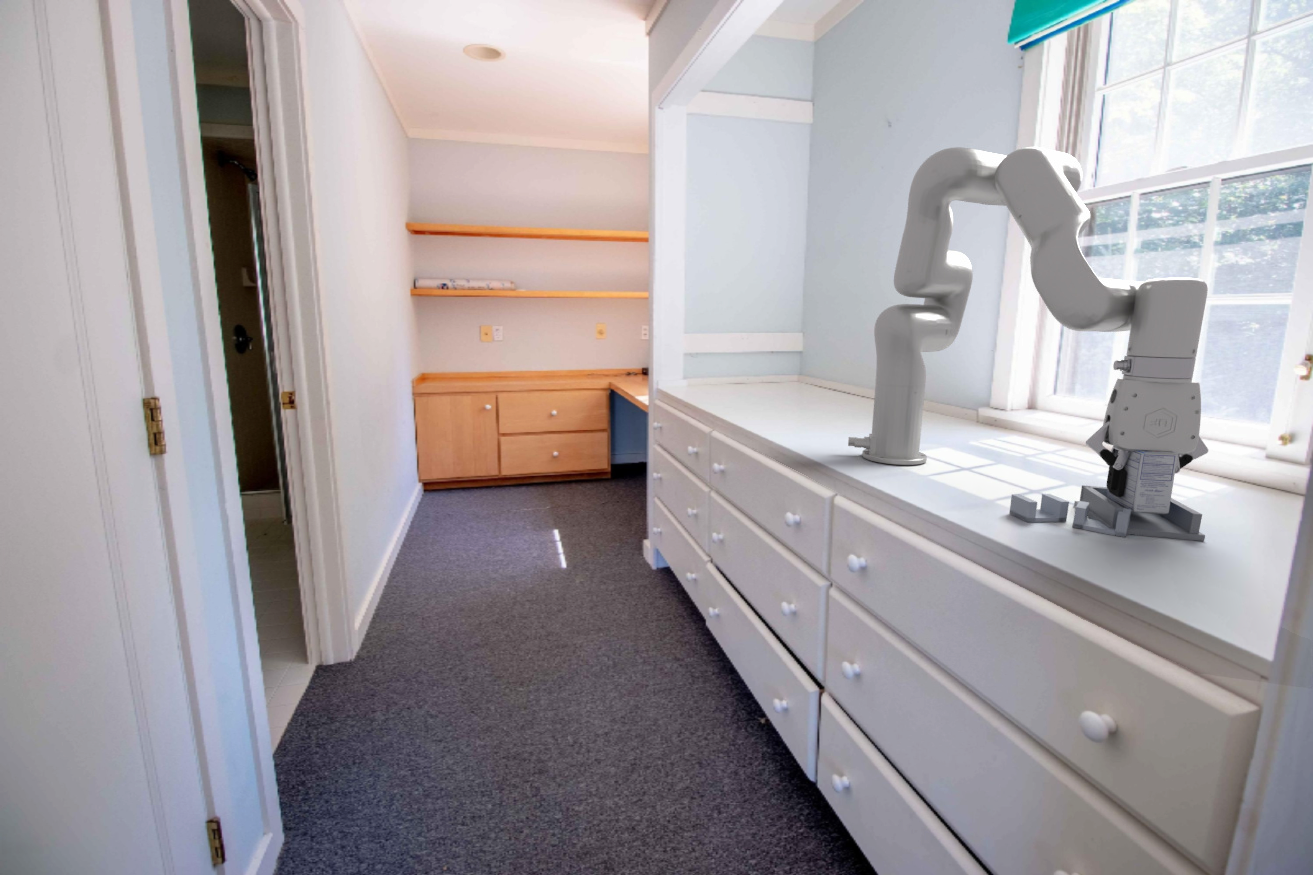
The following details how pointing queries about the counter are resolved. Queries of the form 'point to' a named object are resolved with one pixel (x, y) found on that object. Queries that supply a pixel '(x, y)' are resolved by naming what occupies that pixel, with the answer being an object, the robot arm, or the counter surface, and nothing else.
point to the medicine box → (1148, 481)
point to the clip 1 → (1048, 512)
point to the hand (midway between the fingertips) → (1137, 494)
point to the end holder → (1144, 517)
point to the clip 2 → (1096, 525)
